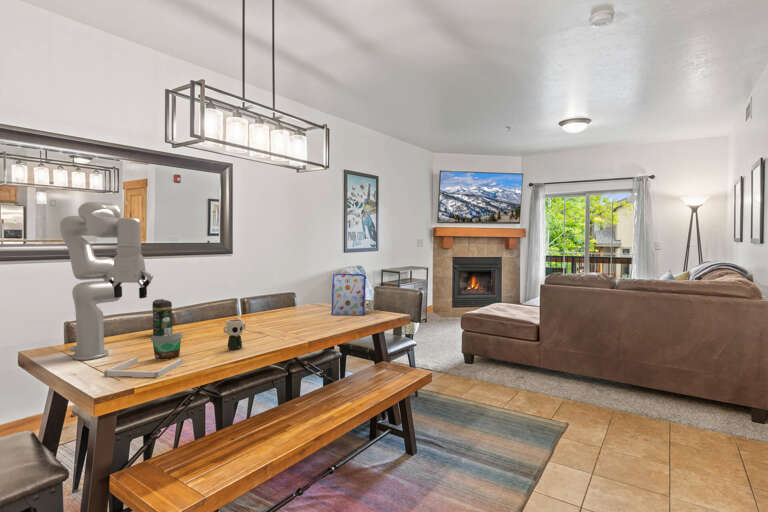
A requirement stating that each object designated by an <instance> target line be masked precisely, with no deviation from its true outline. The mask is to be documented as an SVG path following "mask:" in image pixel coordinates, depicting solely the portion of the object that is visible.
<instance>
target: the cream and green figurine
mask: <svg viewBox="0 0 768 512" xmlns="http://www.w3.org/2000/svg"><path fill="white" fill-rule="evenodd" d="M225 323H226V325H224V326H223V327H222V328H223V334H226V335H228V336H229V337H228V340H227V348H228V349H230V350H237V349H238V348H239V349H241V348H243V343H242V336H241V335H243V332H244V330H246V322H244V321H243V319H242V318H241V319H240V318H232V319H228V320H227V319H226V322H225Z"/></svg>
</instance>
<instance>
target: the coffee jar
mask: <svg viewBox="0 0 768 512" xmlns="http://www.w3.org/2000/svg"><path fill="white" fill-rule="evenodd" d="M151 307H152V335H153V336H163V335H166V334H173V321H172V320H173V319H172V318H173V316H172V315H173V314H172V312H173V311H172V309H173V304H172V301H170V300H167V299H163V298H161V299H160V298H159V299H155V300H153V301H152V306H151Z"/></svg>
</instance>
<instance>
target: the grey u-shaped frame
mask: <svg viewBox="0 0 768 512" xmlns="http://www.w3.org/2000/svg"><path fill="white" fill-rule="evenodd" d="M136 362H137V363H138V362H139V358H138V357H136V356H135V357H133V358H131V359H128V360H125V361H123V362H121V363H119V364H117V365H115V366H113V367H109V368H107V369H105V370H104V377H116V376H132V377H131V378H144V377H158V378H159V376H160V377H161V376H163V375H165V374H168V371H169V372H170V371H172V370H174V369H176V368H178V367H180V366H181V365H183V364H184V363H183V362H184V360H183V358H178V359H177V360H176V361H173V362H172V363H169V364H167V365H166V366H164V367H162V368H160V369H158V370H156V371H152V370H150V371H148V370H124V369H126V368H128V367H130V365H131V366H133V365H135V364H137V363H136ZM134 363H135V364H134ZM132 364H133V365H132ZM179 365H180V366H179ZM177 366H178V367H177ZM123 368H124V369H123ZM121 369H122V370H121ZM162 374H163V375H162Z"/></svg>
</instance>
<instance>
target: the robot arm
mask: <svg viewBox="0 0 768 512" xmlns="http://www.w3.org/2000/svg"><path fill="white" fill-rule="evenodd" d="M77 213H78V215H68V216H66V217H63V218H62V219H61V220H60V223H59V224H60V225H59V230H60V235H61V237H62V240H63V242H64V243H65V245H66V247H67V249H68V253H69V259H70V265H71V270H72V274H73V276H74V278H76V280H80V281H81V280H82V281H85V280H92V281H85V282H80V283H77V284H75V286H73V288H72V290H71V292H72V299H73V302H74V308H75V309H74V310H75V331H76V332H75V335H76V336H75V337H76V345H71V347H70V348H69V349H68V351H69V352H74V354H72V359H73V360H76V361H87V360H97V359H100V358H103V357H107V355H109V350H108V349H105V333H104V332H105V331H104V330H105V328H104V327H105V326H104V322H105V321H104V313H103V311H102V310H101V309H100V307H98V305H99V304H106V303H113V302H117V301H119V300H120V299H122V297H123V286H122V284H124V283H126V284H127V283H137V284H138V285H139V286H140V287H139V288H138V298H139V299H145V298H147V295H148V291H147V290H148V287H149V285H150V284H151V283H152V281H153V277H154V275H153V274H152V273H149V272H147V270H146V264H145V258H144V256H143V255H142V226H141V224H142V223H141V220H140V219H139V218H137V217H121V216H122V213H121V209H120V207H119V206H118V205H117V204H115V203H112V202H110V203H109V202H96V201H95V202H94V201H89V202H84V203H82V204H80V206H79V207H78V209H77ZM83 236H88V237H89V236H91V237H96V238H101V239H103V238H104V239H105V238H107V239H108V238H113V239H115V238H116V239H117V240H116V242H117V243H116V244H117V246H116V248H115V249H114V251H115V252H116V253H117V255H115V256H114V258H112V257H109V256H96V255H95V252H94V247H93V246H92V244H91V243H90V242H89V241H88V240H87V239H85V238H84V237H83ZM93 280H96V281H93Z"/></svg>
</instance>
